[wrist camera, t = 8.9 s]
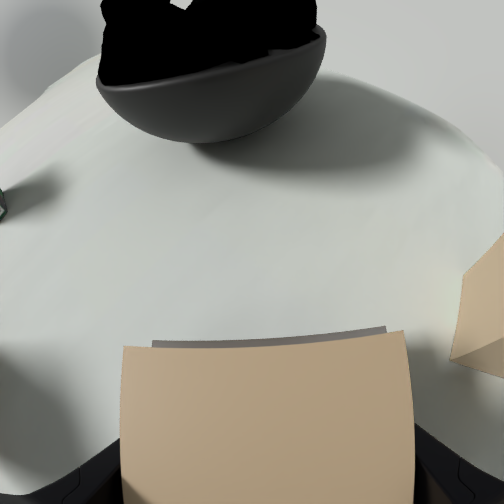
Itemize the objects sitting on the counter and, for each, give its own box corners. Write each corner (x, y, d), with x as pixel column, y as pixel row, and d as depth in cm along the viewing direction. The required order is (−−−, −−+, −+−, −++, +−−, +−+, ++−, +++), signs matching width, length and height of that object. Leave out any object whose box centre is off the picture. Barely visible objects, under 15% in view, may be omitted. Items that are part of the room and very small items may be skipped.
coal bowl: (116, 132, 30) (60, 5, 14) (249, 70, 34) (231, -48, 18) (179, 236, 20) (59, -25, 4) (364, 131, 25) (379, -52, 8)
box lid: (376, 533, 5) (403, 565, 3) (169, 537, 6) (134, 566, 3) (372, 351, 9) (403, 330, 6) (164, 363, 10) (124, 345, 7)
